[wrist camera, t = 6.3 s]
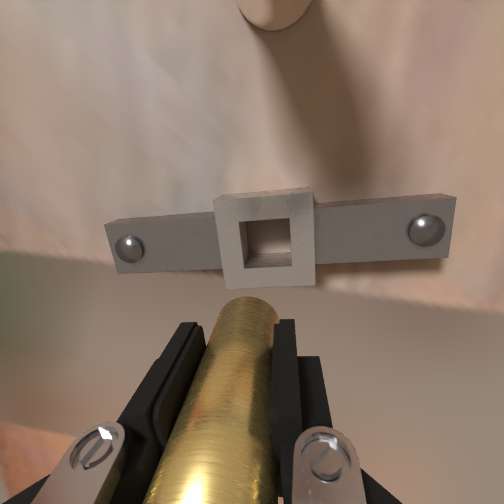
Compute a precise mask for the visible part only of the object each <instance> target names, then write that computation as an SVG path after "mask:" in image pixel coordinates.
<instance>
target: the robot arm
mask: <svg viewBox="0 0 504 504" xmlns="http://www.w3.org/2000/svg"><path fill="white" fill-rule="evenodd" d="M205 349H206V343H205V338H204V332H203V328H202V326H198V324H197V322H183V323H181V324H180V325H179V327H178V328H177V330H176V332H175V333H174V335H173V337H172V338H171V340H170V342H169V343H168V345H167V346H166V348H165V349H164V351H163V353H162V354H161V356H160V357H159V358H158V359H157V360H156V361H155V362H154V363H153V365H152V366H151V368H150V370H149V371H148V373H147V374H146V376H145V378H144V379H143V381H142V382H141V384H140V385H139V387H138V389H137V390H136V392H135V393H134V395H133V396H132V398H131V400H130V401H129V403H128V404H127V406H126V408H125V409H124V411H123V412H122V414H121V415H120V417H119V419H118V420H117V422H105V423H100V424H98V425H95V426H93V427H91V428H90V429H88V430H87V431H85V432H83V433H82V434H81V435H80V436H79V437H78V438H77V439H75V441H74V442H73V443H72V444H71V445H70V447H69V448H68V449H67V451H66V452H65V454H64V455H63V457H62V458H61V460H60V461H59V463H58V464H57V466H56V467H55V469H54V470H53V472H52V473H51V474H49V475H48V476H46V477H44V478H43V479H41V480H40V481H38V482H36V483H35V484H33V485H32V486H30V487H28V488H27V489H25V490H23V491H22V492H20V493H19V494H17V495H15V496H14V497H12V498H11V499H9V500H7V501H6V502H4V503H2V504H143V501H144V499H145V496H146V494H147V491H148V489H149V486H150V484H151V482H152V479H153V477H154V474H155V472H156V469H157V467H158V464H159V462H160V459H161V457H162V454H163V452H164V450H165V447H166V445H167V442H168V440H169V437H170V435H171V432H172V430H173V427H174V425H175V422H176V420H177V418H178V415H179V413H180V410H181V408H182V405H183V403H184V400H185V398H186V395H187V393H188V390H189V388H190V386H191V383H192V381H193V378H194V376H195V373H196V371H197V368H198V366H199V363H200V361H201V359H202V356H203V354H204V351H205ZM270 425H271V434H272V443H273V451H274V453H275V455H276V458H277V461H278V497H283V500H284V504H402V503H401V502H400V501H399V500H398V499H396V498H395V497H394V496H393V495H391V494H390V493H389V492H388V491H387V490H386V489H384V488H383V487H382V486H381V485H380V484H379V483H377V482H376V481H375V480H374V479H373V478H372V477H370V476H369V475H368V474H367V473H366V472H364V471H363V470H362V469H361V468H360V464H359V459H358V456H357V453H356V450H355V448H354V446H353V445H352V443H351V442H350V441H349V439H348V438H347V437H345V436H344V435H343V434H342V433H341V432H339V431H337V430H335V429H333V426H332V421H331V416H330V411H329V405H328V400H327V395H326V389H325V384H324V379H323V374H322V368H321V363H320V358H319V356H297V348H296V335H295V322H294V319H280V323H278V324H274V335H273V355H272V375H271V395H270Z"/></svg>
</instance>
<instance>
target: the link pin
mask: <svg viewBox="0 0 504 504" xmlns="http://www.w3.org/2000/svg"><path fill="white" fill-rule="evenodd" d="M278 323H280V321H279V318H278V315H277V313H276V311H275V310H274V309H273V308H272V307H271V306H270V305H269V304H268V303H266V302H265V301H263V300H260V299H258V298H254V297H241V298H237V299H234V300H232V301H230V302H229V303H227V304H226V305H225V306H224V307H223V308H222V310H221V312H220V314H219V317H218V319H217V322H216V324H215V327H214V329H213V331H212V334H211V336H210V339H209V341H208V344H207V346H206V349H205V351H204V354H203V356H202V359H201V361H200V363H199V366H198V368H197V371H196V373H195V376H194V378H193V381H192V383H191V386H190V388H189V390H188V393H187V395H186V398H185V400H184V403H183V405H182V408H181V410H180V413H179V415H178V418H177V420H176V422H175V425H174V427H173V430H172V432H171V435H170V437H169V440H168V442H167V445H166V447H165V450H164V452H163V454H162V457H161V459H160V462H159V464H158V467H157V469H156V472H155V474H154V477H153V479H152V482H151V484H150V486H149V489H148V491H147V494H146V496H145V499H144V501H143V504H278V461H277V458H276V455H275V453H274V451H273V443H272V434H271V425H270V395H271V375H272V355H273V335H274V324H278Z"/></svg>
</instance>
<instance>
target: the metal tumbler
mask: <svg viewBox="0 0 504 504" xmlns="http://www.w3.org/2000/svg"><path fill="white" fill-rule="evenodd" d="M236 1H237V4H238V6H239V8H240V10H241V12H242V14H243V15H244V16H245V18H246V19H247V20H248V21H249V22H250V23H251V24H253V25H254V26H256V27H258V28H260V29H263V30H268V31H277V30H281V29H284V28H287V27H289V26H290V25H292V24H293V23H295V22H296V21H297V20H298V19H299V18H300V17H301V16H302V15H303V14H304V12H305V11H306V9H307V8H308V6H309V4H310V2H311V0H236Z"/></svg>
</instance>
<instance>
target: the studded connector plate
mask: <svg viewBox="0 0 504 504" xmlns="http://www.w3.org/2000/svg"><path fill="white" fill-rule="evenodd" d="M456 198H457V197H453V196H448V195H444V194H428V195H416V196H403V197H391V198H378V199H366V200H353V201H341V202H329V203H316V204H313V191H312V190H311V189H310V188H309V187H307V188H296V189H285V190H274V191H263V192H251V193H240V194H229V195H222V196H220V197H218V198H217V199H215V200H213V205H214V212H204V213H192V214H180V215H167V216H155V217H142V218H130V219H119V220H116V221H113V222H110V223H108V224H105V225H104V226H105V230H106V233H107V237H108V241H109V244H110V248H111V251H112V255H113V258H114V262H115V266H116V269H117V273H118V274H130V273H150V272H170V271H190V270H210V269H223V274H224V281H225V288H226V289H239V288H264V287H290V286H316V285H315V264H331V263H351V262H371V261H391V260H411V259H431V258H448V255H449V248H450V240H451V233H452V226H453V219H454V212H455V205H456ZM283 218H289V221H290V239H291V253H274V254H256V255H249V250H248V241H247V232H246V223H245V221H256V220H269V219H283Z"/></svg>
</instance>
